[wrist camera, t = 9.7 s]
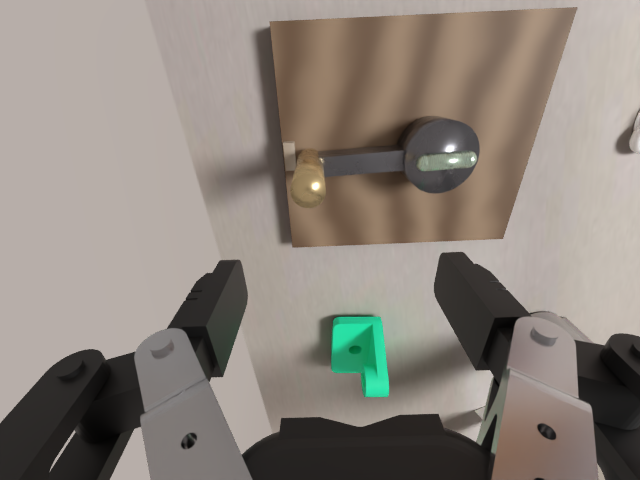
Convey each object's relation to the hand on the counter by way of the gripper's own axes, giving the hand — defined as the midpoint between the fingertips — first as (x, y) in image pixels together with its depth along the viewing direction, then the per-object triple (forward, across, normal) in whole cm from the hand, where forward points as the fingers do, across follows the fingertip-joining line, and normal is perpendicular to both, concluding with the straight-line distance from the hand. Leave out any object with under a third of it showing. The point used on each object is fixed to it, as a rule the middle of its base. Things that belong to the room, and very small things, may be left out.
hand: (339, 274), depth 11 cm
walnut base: (+25, -9, 0) cm, 26 cm away
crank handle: (+22, -6, 0) cm, 23 cm away
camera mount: (+25, -4, +32) cm, 41 cm away
